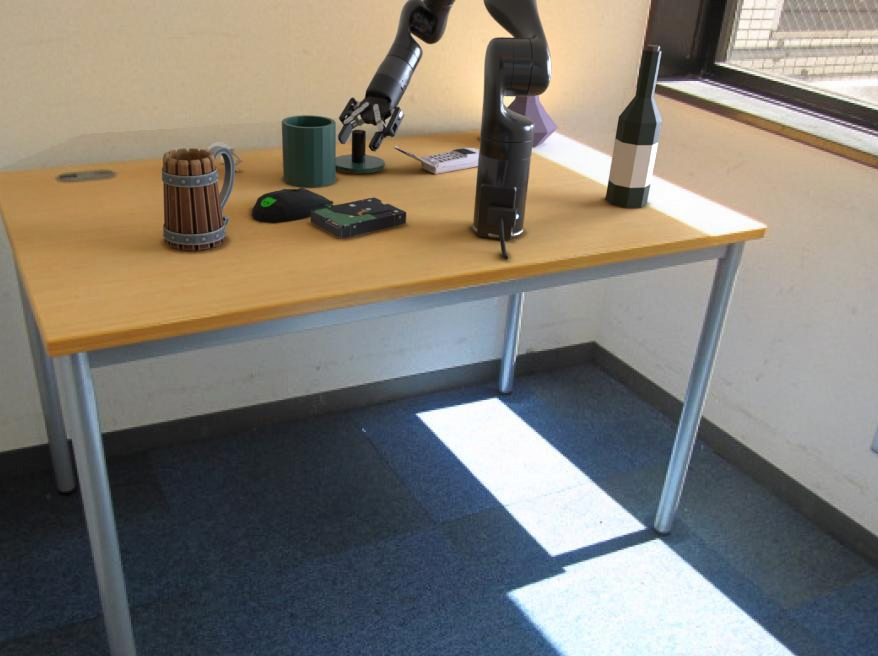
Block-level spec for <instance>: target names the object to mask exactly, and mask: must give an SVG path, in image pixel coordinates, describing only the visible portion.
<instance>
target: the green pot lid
mask: <svg viewBox="0 0 878 656" xmlns="http://www.w3.org/2000/svg"><path fill="white" fill-rule="evenodd" d="M366 136H367V132H366V130H364V129H352V132H351V154H350V153H349V154H342V155H339V156H336V170H338V171H340V172H345V173H351V174H371V173H376V172H379V171H380V172H381V171H382V170H383V169H385V167H386V161H385V160H384V159H383V158H381V157H378V156H376V155H370V154H366V147H367V145H366V144H367V143H366V142H367V141H366V139H367V137H366Z"/></svg>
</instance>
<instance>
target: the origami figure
mask: <svg viewBox="0 0 878 656" xmlns="http://www.w3.org/2000/svg"><path fill="white" fill-rule="evenodd" d="M214 146H221V147H225V148H227V149H229V150H230V151H231V153H232V155H233V157H235V158H236V159H237V160H236V161H234V163H235V167H236V166H237V165H239V164H240V163H242V162H243V161H244V160H243V159H242V158H241V156H239V154H237V153H236V152H235V148H234V147H232V146H230V145H228V144H225V143H224V142H221V141H216V142H214V143H212V144H210V145H209V146H208V147H206V148H205V150H207V152H208V151H209V150H210V149H211V148H212V147H214ZM219 161H220V162H221V163H222V164H224V160H223V156H222V155H221V154H220V158H219ZM235 172H237V173H239V172H240V171H239V170H238V169H237V168H235Z"/></svg>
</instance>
